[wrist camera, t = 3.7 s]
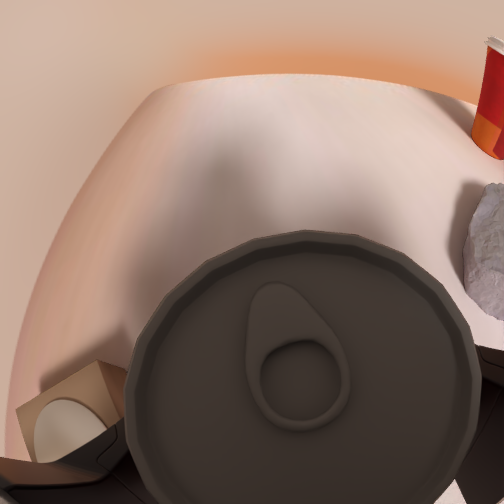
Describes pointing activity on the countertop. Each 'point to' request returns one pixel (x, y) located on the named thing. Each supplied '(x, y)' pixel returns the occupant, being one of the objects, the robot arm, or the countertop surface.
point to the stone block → (486, 253)
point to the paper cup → (491, 103)
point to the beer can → (303, 379)
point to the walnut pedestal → (72, 411)
